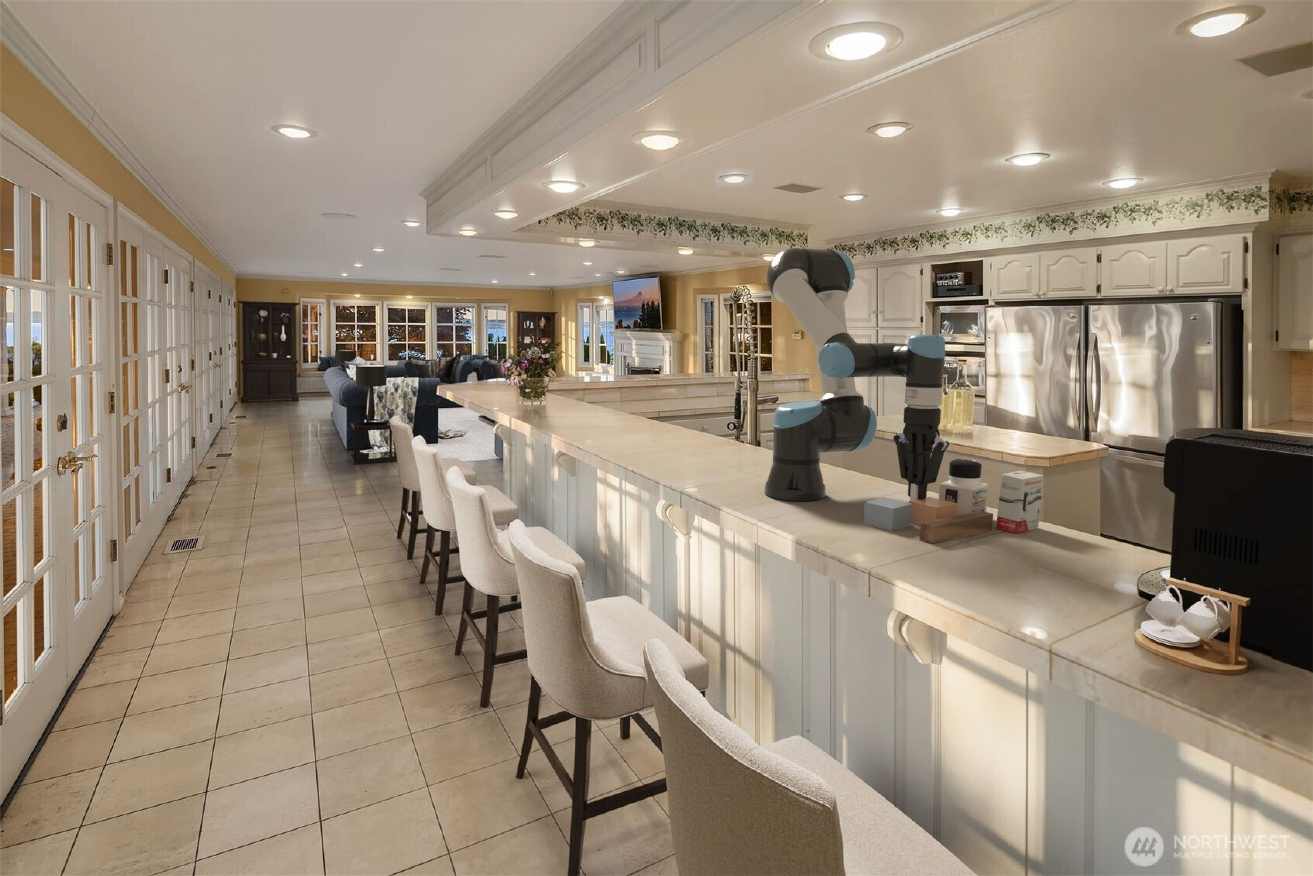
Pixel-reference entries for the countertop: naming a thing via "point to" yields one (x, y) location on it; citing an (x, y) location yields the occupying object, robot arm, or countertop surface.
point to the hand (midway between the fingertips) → (916, 512)
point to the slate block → (888, 514)
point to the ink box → (1019, 501)
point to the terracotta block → (931, 510)
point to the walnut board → (955, 526)
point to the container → (965, 486)
